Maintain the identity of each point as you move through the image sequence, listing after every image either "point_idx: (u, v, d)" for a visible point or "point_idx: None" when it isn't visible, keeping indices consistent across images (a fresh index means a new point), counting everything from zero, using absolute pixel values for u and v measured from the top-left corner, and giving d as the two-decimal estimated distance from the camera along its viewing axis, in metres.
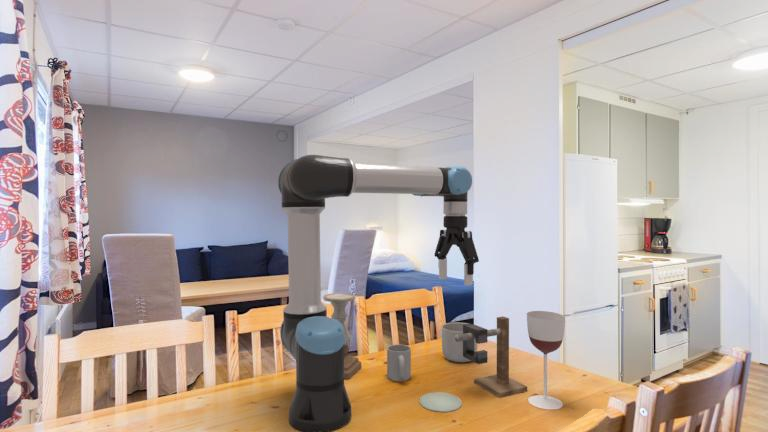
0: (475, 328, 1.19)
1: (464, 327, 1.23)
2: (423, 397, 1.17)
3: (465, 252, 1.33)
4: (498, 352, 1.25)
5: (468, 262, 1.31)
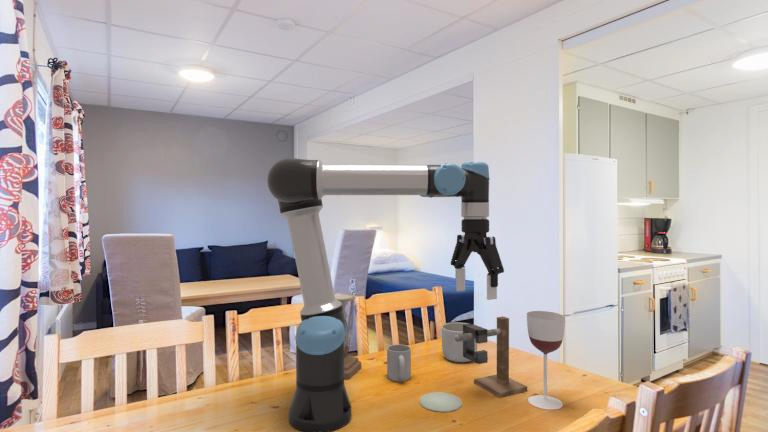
0: (475, 328, 1.19)
1: (464, 327, 1.23)
2: (423, 397, 1.17)
3: (488, 261, 1.15)
4: (498, 352, 1.25)
5: (491, 273, 1.13)
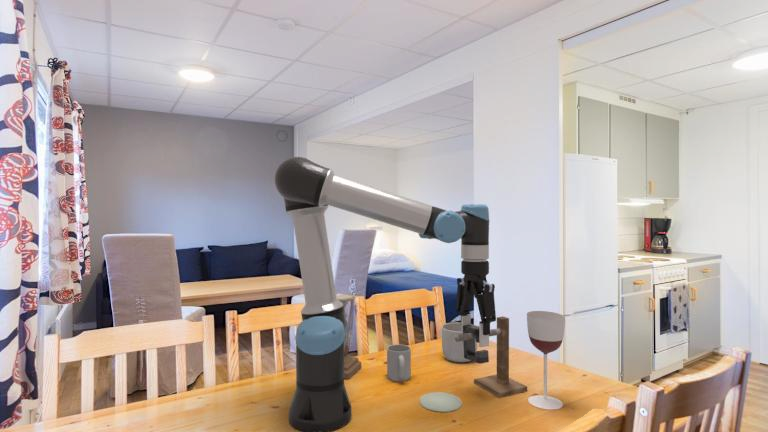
0: (475, 328, 1.20)
1: (464, 328, 1.23)
2: (423, 397, 1.17)
3: (483, 308, 1.17)
4: (498, 352, 1.25)
5: (484, 322, 1.15)
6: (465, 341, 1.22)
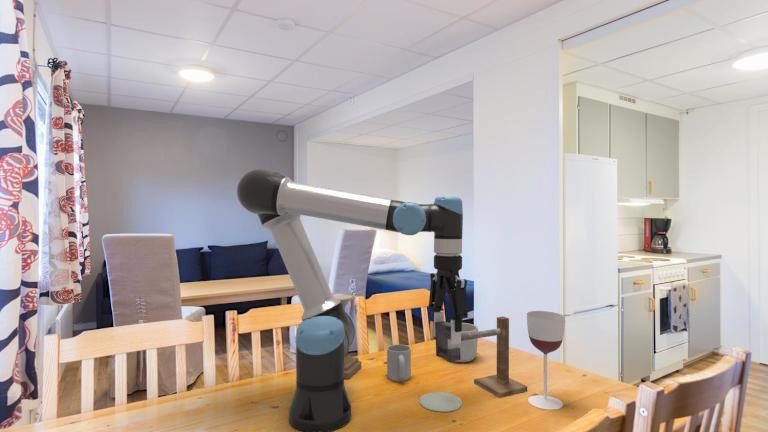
0: (447, 324, 1.16)
1: (436, 324, 1.19)
2: (423, 397, 1.17)
3: (454, 304, 1.13)
4: (498, 352, 1.25)
5: (455, 318, 1.12)
6: (437, 338, 1.18)
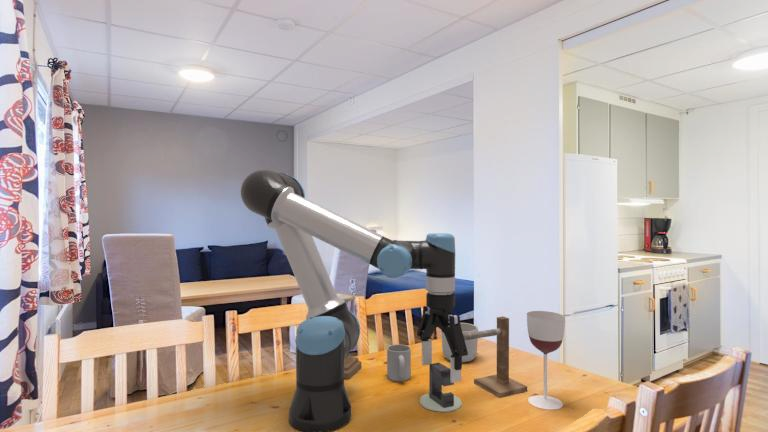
0: (441, 369, 1.13)
1: (431, 367, 1.16)
2: (423, 397, 1.17)
3: (452, 341, 1.09)
4: (498, 352, 1.25)
5: (455, 355, 1.07)
6: (431, 381, 1.16)
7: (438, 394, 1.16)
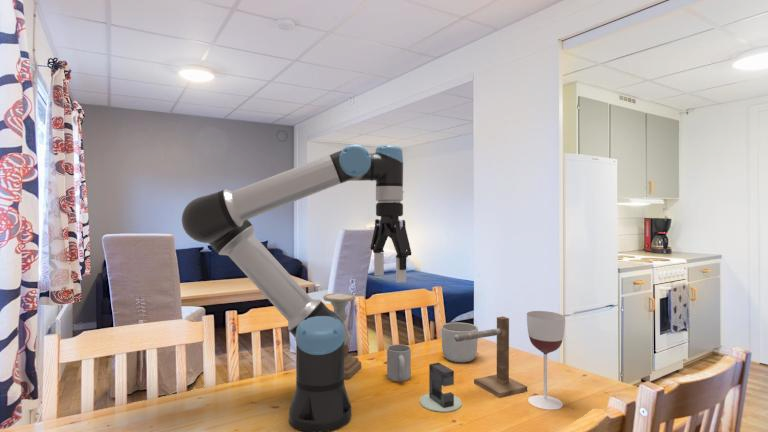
0: (441, 369, 1.13)
1: (430, 367, 1.16)
2: (423, 397, 1.17)
3: (397, 244, 1.15)
4: (498, 352, 1.25)
5: (399, 255, 1.13)
6: (431, 381, 1.16)
7: (438, 394, 1.16)
